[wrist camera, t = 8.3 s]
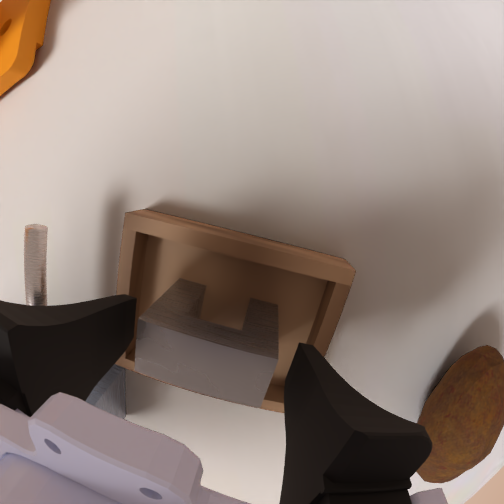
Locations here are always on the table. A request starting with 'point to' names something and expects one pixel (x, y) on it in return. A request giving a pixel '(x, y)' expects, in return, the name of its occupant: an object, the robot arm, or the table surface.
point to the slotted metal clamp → (208, 346)
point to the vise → (35, 249)
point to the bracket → (20, 37)
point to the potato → (464, 415)
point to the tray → (234, 282)
